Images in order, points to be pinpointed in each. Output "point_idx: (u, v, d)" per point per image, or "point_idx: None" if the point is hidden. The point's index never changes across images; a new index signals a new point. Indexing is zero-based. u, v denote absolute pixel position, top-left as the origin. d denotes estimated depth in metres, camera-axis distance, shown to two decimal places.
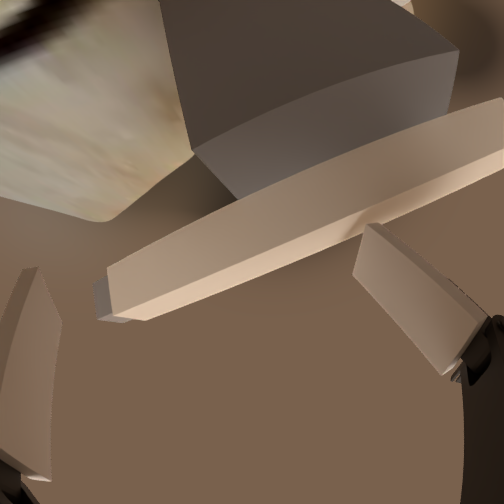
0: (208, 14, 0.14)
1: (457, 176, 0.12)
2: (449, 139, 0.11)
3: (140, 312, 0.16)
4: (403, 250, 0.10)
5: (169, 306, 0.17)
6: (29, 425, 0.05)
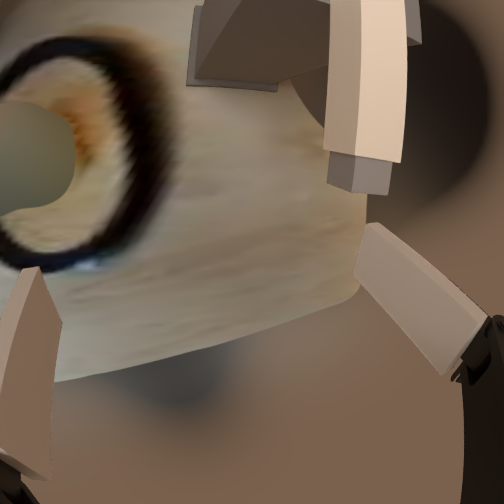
0: (218, 11, 0.19)
1: None
2: None
3: (376, 134, 0.12)
4: (403, 250, 0.10)
5: (392, 108, 0.12)
6: (29, 425, 0.05)
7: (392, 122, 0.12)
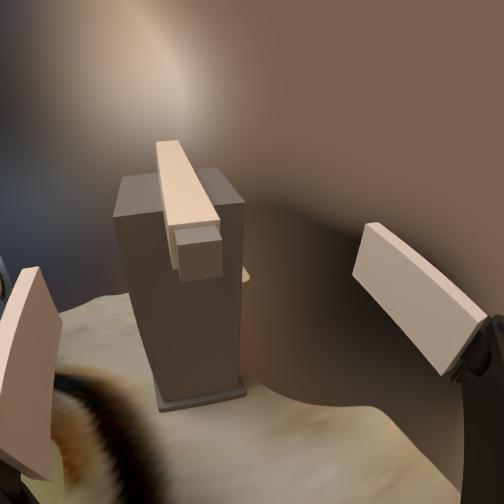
0: None
1: (165, 150, 0.32)
2: None
3: (186, 214, 0.17)
4: (403, 250, 0.10)
5: (196, 203, 0.19)
6: (29, 425, 0.05)
7: (199, 207, 0.18)
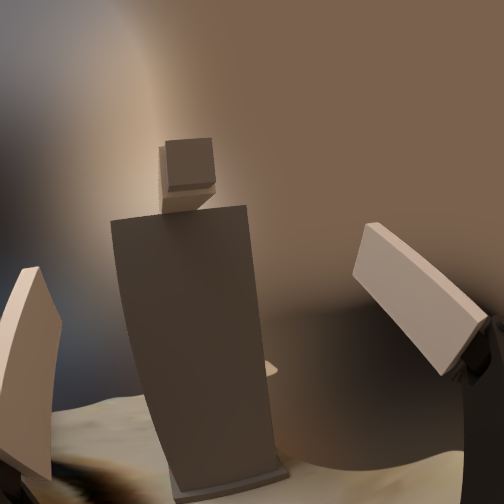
0: None
1: None
2: None
3: None
4: (403, 250, 0.10)
5: None
6: (29, 425, 0.05)
7: None
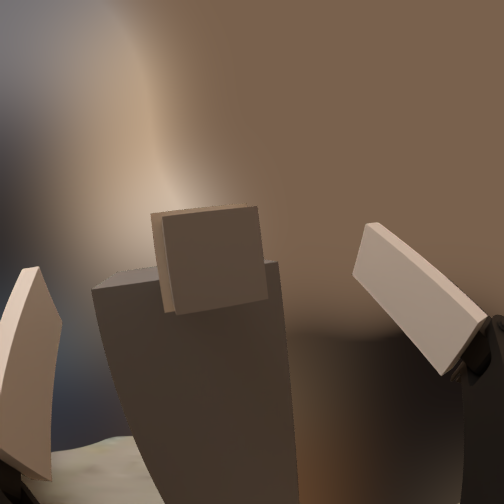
0: None
1: None
2: None
3: None
4: (403, 250, 0.10)
5: None
6: (29, 425, 0.05)
7: None
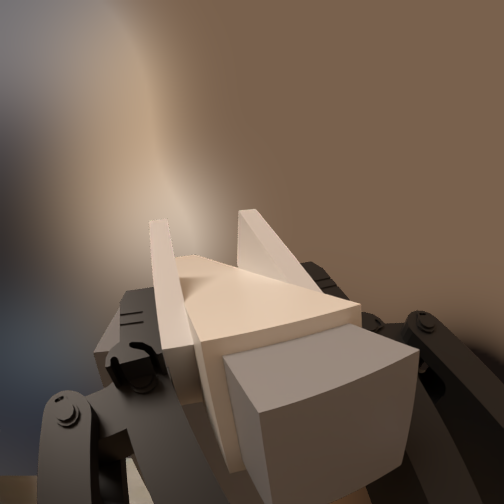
0: None
1: (179, 260, 0.23)
2: None
3: (250, 312, 0.06)
4: (262, 235, 0.11)
5: (266, 292, 0.08)
6: None
7: (279, 296, 0.07)
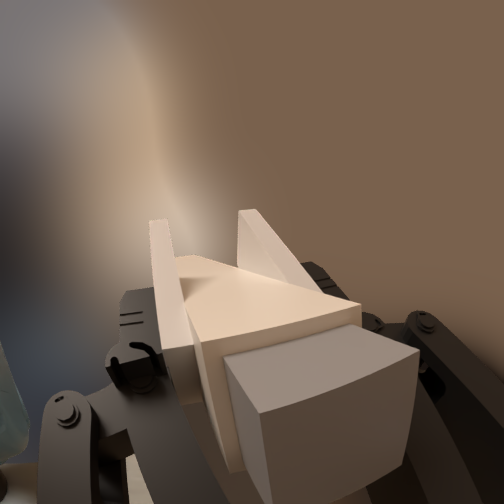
0: None
1: (179, 260, 0.23)
2: None
3: (250, 312, 0.06)
4: (262, 235, 0.11)
5: (266, 292, 0.08)
6: None
7: (279, 296, 0.07)
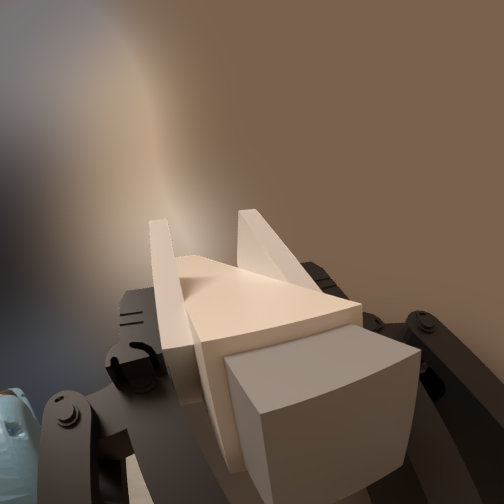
0: None
1: (179, 260, 0.23)
2: None
3: (251, 312, 0.06)
4: (262, 235, 0.11)
5: (266, 292, 0.08)
6: None
7: (280, 296, 0.07)
